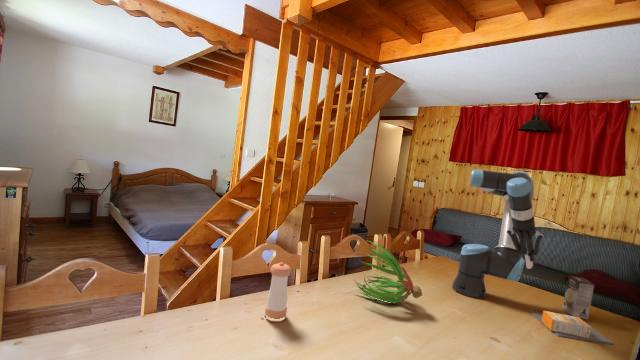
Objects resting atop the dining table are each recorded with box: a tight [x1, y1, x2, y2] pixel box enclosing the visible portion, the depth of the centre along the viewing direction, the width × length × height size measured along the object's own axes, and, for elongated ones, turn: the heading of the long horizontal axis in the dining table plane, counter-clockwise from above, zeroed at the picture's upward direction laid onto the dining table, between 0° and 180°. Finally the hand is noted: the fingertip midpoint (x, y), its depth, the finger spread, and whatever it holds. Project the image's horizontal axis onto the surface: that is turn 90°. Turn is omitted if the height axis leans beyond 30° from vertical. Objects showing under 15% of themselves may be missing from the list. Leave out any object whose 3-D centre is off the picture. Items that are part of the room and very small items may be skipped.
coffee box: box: [562, 275, 595, 320], centre depth 147 cm, size 9×6×16 cm
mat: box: [530, 312, 614, 345], centre depth 131 cm, size 20×18×1 cm
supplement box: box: [542, 310, 592, 338], centre depth 128 cm, size 8×5×13 cm
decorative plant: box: [353, 239, 423, 304], centre depth 135 cm, size 26×25×30 cm
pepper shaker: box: [264, 261, 292, 319], centre depth 111 cm, size 7×7×19 cm
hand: (530, 266), depth 134 cm, fingers closed
